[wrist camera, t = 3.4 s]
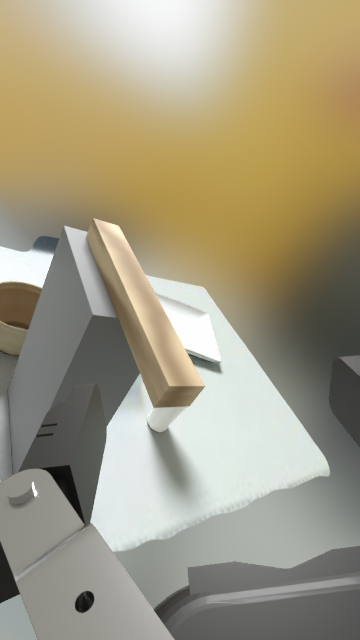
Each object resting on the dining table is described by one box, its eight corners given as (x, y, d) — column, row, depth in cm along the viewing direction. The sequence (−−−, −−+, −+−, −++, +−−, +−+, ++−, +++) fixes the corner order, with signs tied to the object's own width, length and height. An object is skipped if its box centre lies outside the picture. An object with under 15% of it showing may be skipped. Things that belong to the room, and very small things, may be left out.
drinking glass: (139, 411, 78) (168, 368, 71) (163, 410, 82) (193, 369, 75) (149, 437, 74) (181, 394, 67) (173, 434, 78) (206, 393, 71)
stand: (13, 487, 54) (92, 314, 36) (7, 389, 66) (63, 225, 48) (75, 477, 60) (169, 324, 41) (59, 389, 72) (126, 243, 54)
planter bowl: (25, 311, 85) (36, 277, 80) (64, 353, 81) (79, 320, 75) (-43, 326, 72) (-35, 286, 67) (0, 377, 67) (12, 339, 62)
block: (153, 407, 30) (169, 386, 28) (86, 236, 49) (93, 218, 47) (189, 406, 32) (205, 386, 31) (111, 243, 51) (118, 226, 50)
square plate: (138, 295, 120) (143, 286, 118) (203, 319, 129) (209, 312, 128) (139, 344, 98) (144, 335, 96) (217, 369, 108) (224, 361, 106)
